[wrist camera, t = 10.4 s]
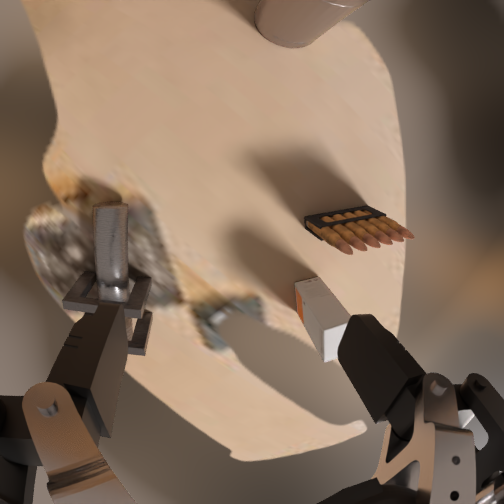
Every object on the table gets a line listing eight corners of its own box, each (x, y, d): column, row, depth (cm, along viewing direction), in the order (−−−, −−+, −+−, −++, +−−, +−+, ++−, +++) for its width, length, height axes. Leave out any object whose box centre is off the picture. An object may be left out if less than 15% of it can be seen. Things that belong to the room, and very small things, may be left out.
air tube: (99, 201, 32) (87, 209, 28) (131, 202, 33) (123, 210, 29) (108, 326, 39) (102, 344, 34) (135, 329, 40) (131, 347, 36)
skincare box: (293, 282, 41) (323, 329, 30) (319, 275, 42) (355, 319, 31) (296, 314, 44) (323, 364, 33) (320, 307, 44) (352, 354, 33)
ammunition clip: (368, 205, 39) (420, 229, 28) (368, 217, 40) (419, 243, 29) (304, 216, 38) (344, 247, 27) (305, 229, 38) (344, 263, 27)
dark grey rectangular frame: (89, 305, 37) (71, 338, 29) (152, 312, 39) (144, 349, 31) (90, 312, 37) (72, 345, 30) (152, 319, 40) (145, 355, 32)
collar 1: (84, 271, 35) (62, 300, 27) (151, 277, 37) (140, 310, 29) (85, 278, 35) (63, 308, 28) (151, 285, 37) (141, 318, 30)
